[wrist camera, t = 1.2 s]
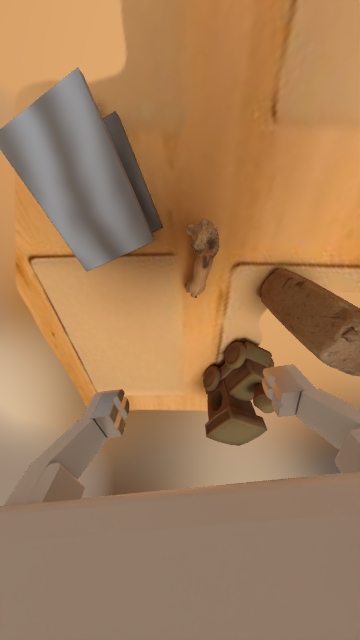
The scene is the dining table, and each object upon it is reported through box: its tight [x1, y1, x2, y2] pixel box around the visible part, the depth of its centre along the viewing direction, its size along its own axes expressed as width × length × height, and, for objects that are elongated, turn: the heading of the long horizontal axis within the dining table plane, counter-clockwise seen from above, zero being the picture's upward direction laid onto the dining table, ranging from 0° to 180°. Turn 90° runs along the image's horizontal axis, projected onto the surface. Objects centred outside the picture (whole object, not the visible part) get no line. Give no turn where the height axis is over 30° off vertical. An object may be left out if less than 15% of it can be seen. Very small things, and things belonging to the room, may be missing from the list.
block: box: [260, 269, 360, 376], centre depth 26 cm, size 11×8×20 cm
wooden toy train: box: [203, 341, 275, 446], centre depth 41 cm, size 20×11×17 cm, turn 152°
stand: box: [0, 68, 163, 271], centre depth 24 cm, size 14×16×8 cm
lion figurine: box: [185, 219, 219, 298], centre depth 28 cm, size 15×5×9 cm, turn 0°
